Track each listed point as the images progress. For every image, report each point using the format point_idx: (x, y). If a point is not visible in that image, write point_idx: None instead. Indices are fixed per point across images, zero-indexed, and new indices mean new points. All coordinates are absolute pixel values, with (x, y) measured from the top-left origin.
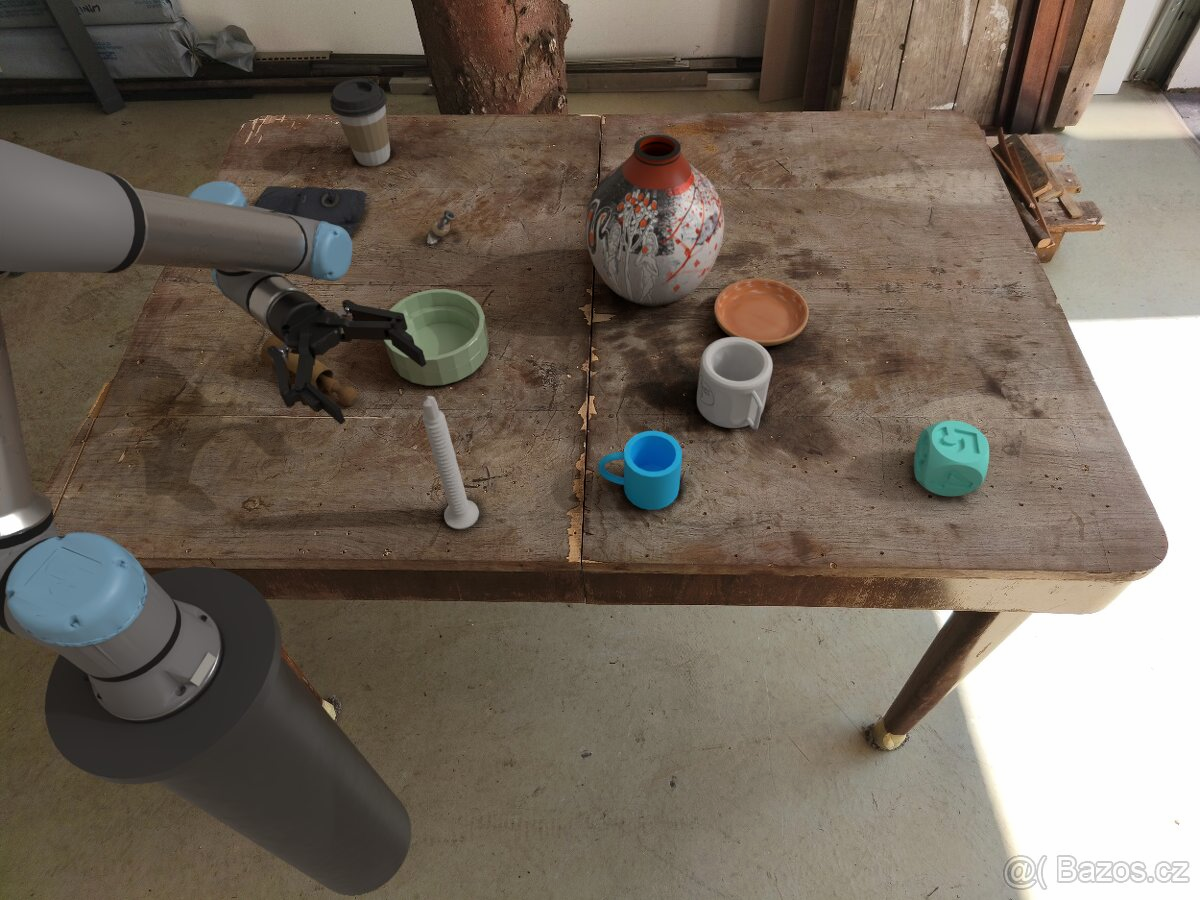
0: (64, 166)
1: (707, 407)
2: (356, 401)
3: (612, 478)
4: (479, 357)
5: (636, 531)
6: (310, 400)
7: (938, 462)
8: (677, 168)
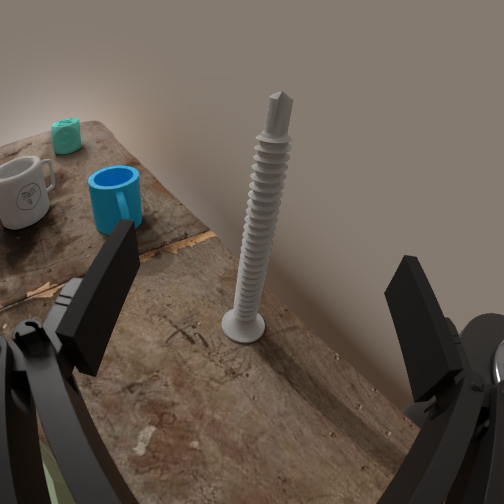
0: None
1: (38, 205)
2: None
3: None
4: None
5: (164, 214)
6: (453, 338)
7: (77, 125)
8: None
